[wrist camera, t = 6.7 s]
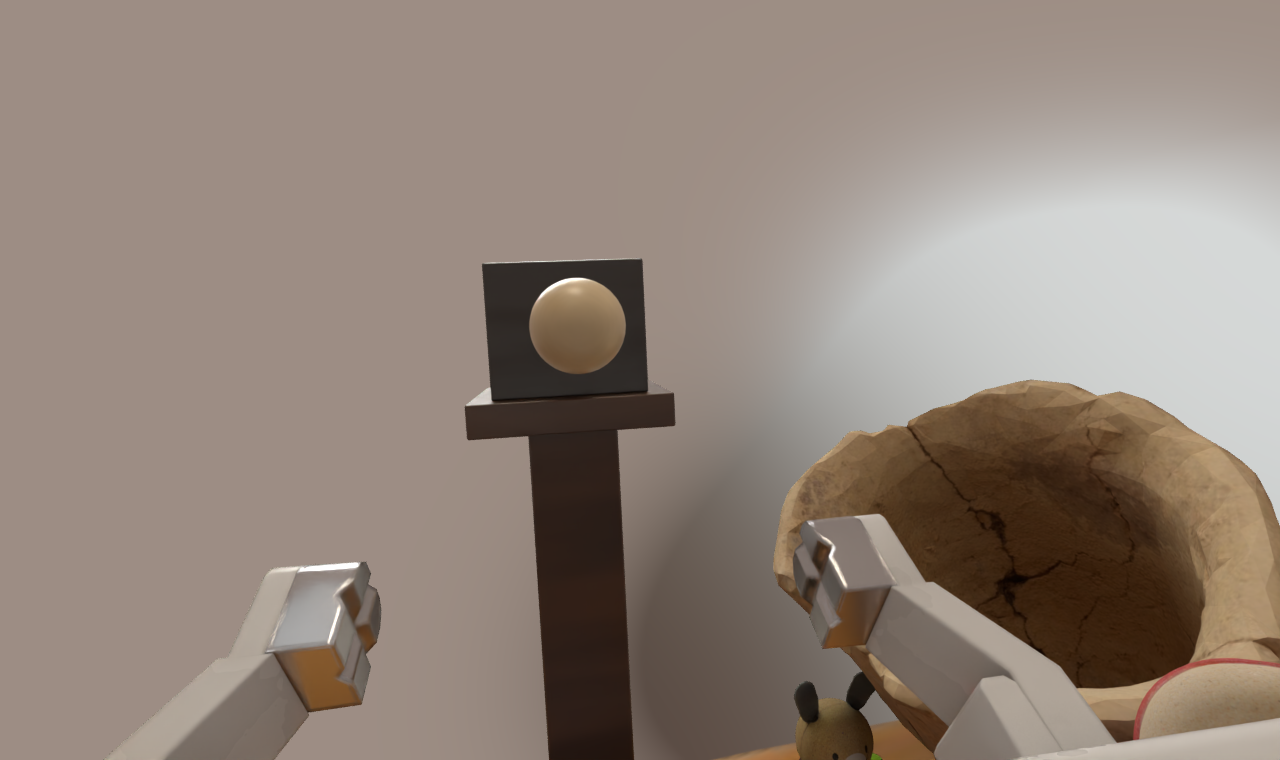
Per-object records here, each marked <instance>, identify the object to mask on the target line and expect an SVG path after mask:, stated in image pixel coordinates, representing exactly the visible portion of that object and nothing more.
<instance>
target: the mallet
mask: <svg viewBox="0 0 1280 760" xmlns="http://www.w3.org/2000/svg"><path fill="white" fill-rule="evenodd" d="M482 271H483V284H484V285H483V286H484V300H485V314H486V329H487V344H488V357H489V371H490V372H489V373H490V387H491V400H492V401H501V400H518V399H534V398H550V397H567V396H583V395H599V394H616V393H632V392H647V391H648V374H647V351H646V329H645V307H644V285H643V263H642V259H641V258H637V259H606V260H605V259H604V260H575V261H574V260H572V261H539V262H508V263H483V264H482Z"/></svg>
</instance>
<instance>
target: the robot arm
mask: <svg viewBox="0 0 1280 760" xmlns="http://www.w3.org/2000/svg"><path fill="white" fill-rule="evenodd" d="M799 534H800V536H801V539H802V541H803V542H802V543H801V544H800V545H799V546H798V547H797V548H795V552H794V556H793V575H794V579H795V583H796V586H797V588H798V591H799V593H800V596H801V597H802V598H803V599H804V600H806V601H807V602H808V603H809V604H811V605H812V606H813V607H812V610H811V613H810V617H809V618H810V620H811V622H812V625H813V627H814V629H815V632H816V634H817V637H818V639H819V641H820V643H821V646H822V648H823V649H827V648H838V647H849V646H860V645H866V646H865V648H866V649H867V650H868V651H869V652H870V653H871V654H873V655H874V656H875V657H876V658H877V659H878V660H879V661H880V662H881V663H882V664H883V665H884V666H885V667H886V668H887V669H888V670H889V671H890V672H892V673H893V674H894V675H895V676H896V677H897V678H898V679H899V680H900V681H901V682H902V683H903V684H904V685H905V686H906V687H907V688H908V689H909V690H911V691H912V692H913V693H914V694H915V695H916V696H917V697H918V698H919V699H920V700H921V701H922V702H923V703H924V704H925V705H926V706H927V707H929V708H930V709H931V710H932V711H933V712H934V713H935V714H936V715H937V716H938V717H939V718H940V719H941V720H942V721H943V722H944V723H945V724H946V725H948V726H949V728H948V730H947V731H946V733H945V734H944V736H943V737H942V739H941V740H940V742H939V743H938V744H937V746H936V749H935V751H934V756H935V758H936V760H1280V718H1276V719H1270V720H1263V721H1257V722H1250V723H1244V724H1237V725H1231V726H1224V727H1218V728H1211V729H1205V730H1198V731H1191V732H1185V733H1178V734H1172V735H1165V736H1159V737H1152V738H1146V739H1139V740H1133V741H1126V742H1119V743H1117V742H1116V741H1115V740H1114V738H1113V737H1112V736H1111V734H1110V733H1109V732H1108V730H1107V729H1106V728H1105V726H1104V725H1103V724H1102V722H1101V721H1100V719H1099V718H1098V717H1097V715H1096V714H1095V713H1094V711H1093V710H1092V709H1091V707H1090V706H1089V705H1088V703H1087V702H1086V701H1085V699H1084V698H1083V697H1082V695H1081V694H1080V693H1079V691H1078V690H1077V689H1076V687H1075V686H1074V684H1073V683H1072V682H1071V680H1070V679H1069V678H1068V676H1067V675H1066V674H1065V672H1064V671H1063V670H1062V668H1061V667H1060V666H1059V665H1057V664H1056V663H1054V662H1053V661H1051V660H1050V659H1048V658H1047V657H1045V656H1044V655H1042V654H1041V653H1039V652H1038V651H1036V650H1035V649H1033V648H1032V647H1030V646H1029V645H1027V644H1026V643H1024V642H1023V641H1021V640H1020V639H1018V638H1017V637H1015V636H1014V635H1012V634H1011V633H1009V632H1008V631H1006V630H1005V629H1003V628H1002V627H1000V626H999V625H997V624H996V623H994V622H993V621H991V620H990V619H988V618H987V617H985V616H984V615H982V614H981V613H979V612H978V611H976V610H975V609H973V608H972V607H970V606H969V605H967V604H966V603H964V602H963V601H961V600H960V599H958V598H957V597H955V596H954V595H952V594H951V593H949V592H948V591H946V590H945V589H943V588H942V587H940V586H939V585H937V584H936V583H934V582H925V580H924V579H923V577H922V575H921V574H920V572H919V571H918V569H917V568H916V566H915V564H914V563H913V561H912V560H911V558H910V557H909V555H908V554H907V552H906V550H905V549H904V547H903V546H902V544H901V543H900V541H899V539H898V538H897V536H896V535H895V533H894V532H893V530H892V528H891V527H890V525H889V524H888V522H887V521H886V519H885V518H884V517H883V516H882V515H880V514H872V515H861V516H854V517H853V516H845V517H836V518H826V519H817V520H807V521H805V522H804V523H803V524H802V526H801V529H800V533H799ZM370 575H371V573H370V570H369V568H368V565H367V563H366V562H352V563H337V564H322V565H307V566H294V567H282V568H272V569H271V570H270V571H269V572H268V573H267V574H266V575H265V576H264V578H263V580H262V582H261V584H260V586H259V589H258V591H257V593H256V595H255V598H254V600H253V602H252V604H251V606H250V608H249V611H248V613H247V615H246V618H245V619H244V622H243V624H242V626H241V628H240V630H239V633H238V635H237V637H236V639H235V641H234V644H233V646H232V648H231V650H230V652H229V655H228V657H227V658H221V659H217V660H216V661H215V662H213V663H212V664H211V665H210V666H209V667H208V668H207V669H206V670H204V671H203V672H202V673H201V674H200V675H199V676H198V677H196V679H194V680H193V681H192V682H191V683H190V684H188V685H187V686H186V687H185V688H184V689H183V690H182V691H181V692H180V693H179V694H177V695H176V696H175V697H174V698H173V699H171V700H170V701H169V702H168V703H167V704H166V705H165V706H164V707H163V708H161V709H160V710H159V711H158V712H157V713H156V714H154V715H153V716H152V717H151V718H150V719H149V720H148V721H147V722H145V723H144V724H143V725H142V726H141V727H140V728H139V729H137V730H136V731H135V732H134V733H133V734H132V735H131V736H130V737H128V738H127V739H126V740H125V741H124V742H123V743H122V744H121V745H119V746H118V747H117V748H116V749H115V750H114V751H112V753H110V754H109V755H108V756H107V757H106V758H105V759H103V760H274V759H275V758H276V757H277V755H278V754H279V753H280V751H281V750H282V749H283V748H284V746H285V745H286V744H287V743H288V742H289V740H290V739H291V738H292V737H293V735H294V734H295V733H296V731H297V730H298V729H299V728H300V726H301V725H302V724H303V723H304V721H305V720H306V719H307V718H308V716H309V714H308V712H314V711H321V710H328V709H335V708H342V707H348V706H355V705H361V704H362V701H363V697H364V693H365V688H366V685H367V681H368V676H369V672H370V668H371V666H370V663H369V661H368V658H367V656H366V653H367V652H368V651H369V650H370V649H371V648H372V647H373V646H374V645H375V644H376V643H377V639H378V634H379V630H380V622H381V604H380V598H379V595H378V592H377V589H375V588H374V587H372V586H370V585H369V584H368V582H369V579H370Z"/></svg>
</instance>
